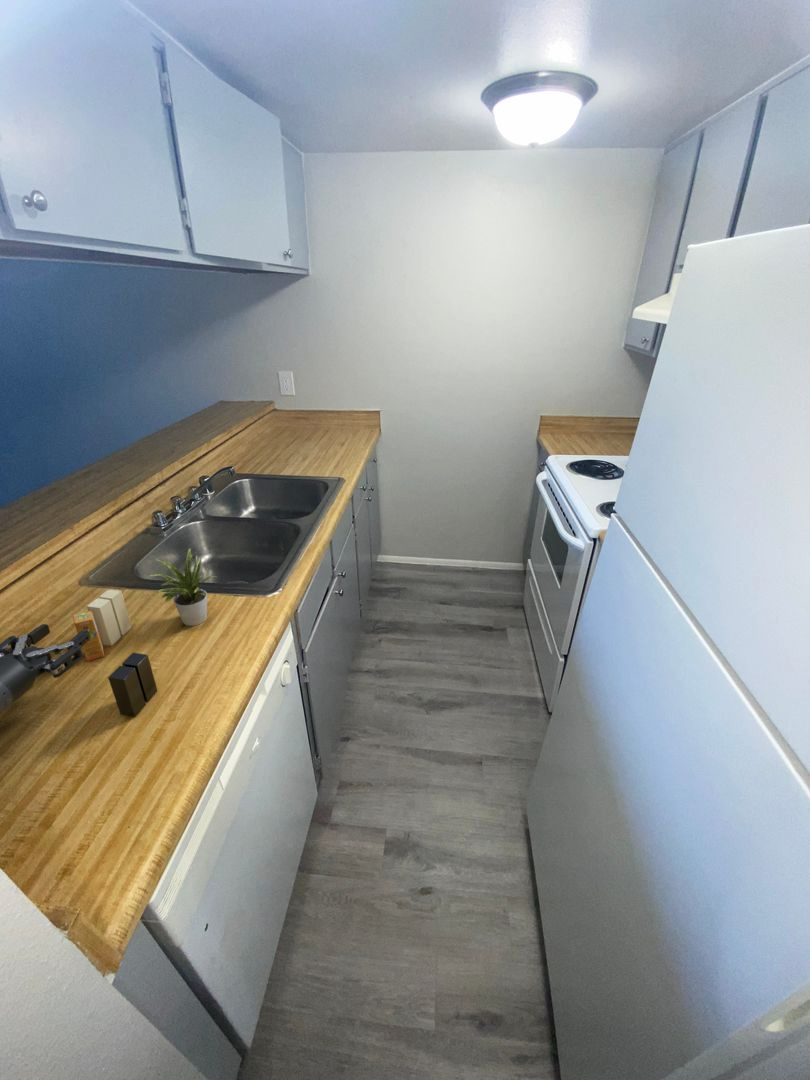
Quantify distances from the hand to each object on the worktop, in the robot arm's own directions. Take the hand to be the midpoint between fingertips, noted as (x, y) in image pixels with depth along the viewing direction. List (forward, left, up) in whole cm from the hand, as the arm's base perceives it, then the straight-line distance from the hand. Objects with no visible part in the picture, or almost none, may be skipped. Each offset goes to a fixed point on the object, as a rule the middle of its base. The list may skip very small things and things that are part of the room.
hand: (67, 630), depth 91 cm
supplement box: (+1, +4, -10) cm, 10 cm away
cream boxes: (+4, +10, -9) cm, 14 cm away
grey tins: (+14, -12, -9) cm, 20 cm away
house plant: (+19, +15, -10) cm, 25 cm away
